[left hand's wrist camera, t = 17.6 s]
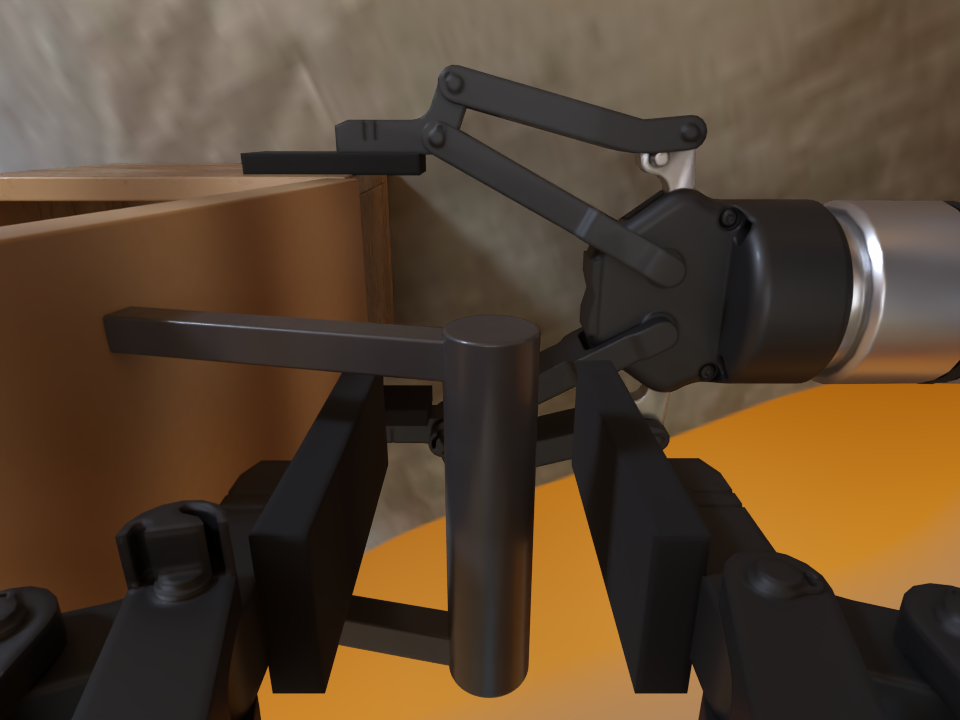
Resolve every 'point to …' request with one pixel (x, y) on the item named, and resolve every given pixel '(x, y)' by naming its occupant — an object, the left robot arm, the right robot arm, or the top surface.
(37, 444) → the lid
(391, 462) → the top surface
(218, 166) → the chest
